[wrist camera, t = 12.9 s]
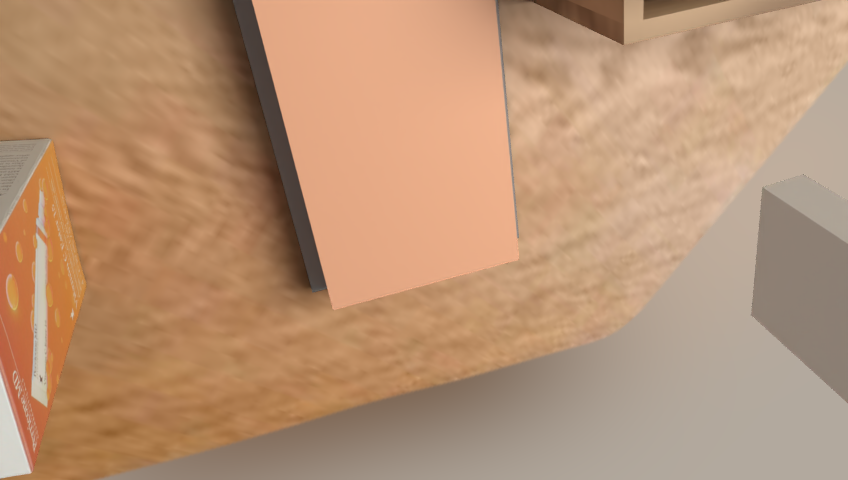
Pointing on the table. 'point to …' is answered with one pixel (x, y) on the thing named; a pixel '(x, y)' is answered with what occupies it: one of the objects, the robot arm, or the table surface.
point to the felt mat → (281, 142)
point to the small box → (33, 296)
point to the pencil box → (658, 15)
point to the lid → (395, 137)
